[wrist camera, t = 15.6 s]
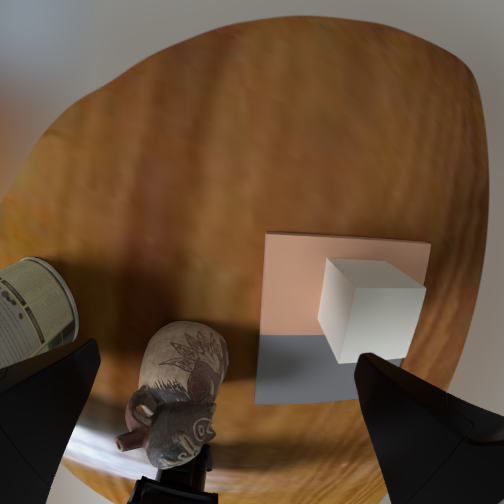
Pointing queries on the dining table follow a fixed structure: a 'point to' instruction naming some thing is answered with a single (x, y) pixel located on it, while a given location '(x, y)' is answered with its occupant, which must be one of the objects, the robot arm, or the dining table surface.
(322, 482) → the dining table surface
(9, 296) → the coffee can
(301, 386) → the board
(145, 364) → the figurine
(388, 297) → the cream block
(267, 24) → the dining table surface
